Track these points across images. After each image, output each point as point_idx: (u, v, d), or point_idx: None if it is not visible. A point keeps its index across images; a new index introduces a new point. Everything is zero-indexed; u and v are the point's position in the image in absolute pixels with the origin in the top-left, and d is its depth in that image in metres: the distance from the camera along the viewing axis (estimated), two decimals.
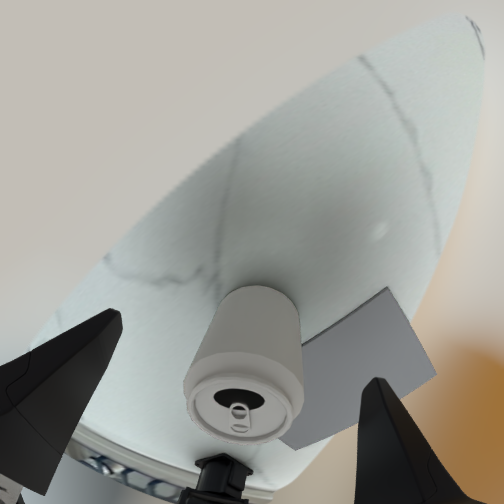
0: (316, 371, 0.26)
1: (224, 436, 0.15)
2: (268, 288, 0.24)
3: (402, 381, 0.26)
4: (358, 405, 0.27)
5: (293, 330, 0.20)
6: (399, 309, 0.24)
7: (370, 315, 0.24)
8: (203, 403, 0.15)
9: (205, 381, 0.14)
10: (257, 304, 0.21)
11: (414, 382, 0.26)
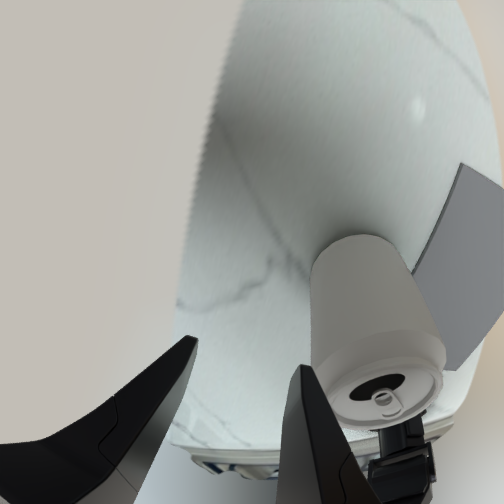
0: (439, 288, 0.21)
1: (380, 423, 0.13)
2: (347, 238, 0.19)
3: None
4: (494, 297, 0.20)
5: (397, 272, 0.15)
6: (485, 179, 0.16)
7: (462, 202, 0.17)
8: (343, 407, 0.13)
9: (332, 392, 0.11)
10: (345, 266, 0.17)
11: None
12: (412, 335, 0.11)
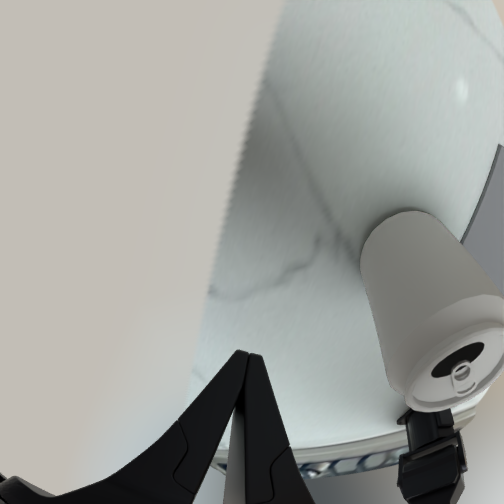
0: None
1: (449, 402, 0.11)
2: (400, 214, 0.17)
3: None
4: None
5: (458, 244, 0.13)
6: None
7: (501, 183, 0.15)
8: (421, 387, 0.11)
9: (421, 367, 0.09)
10: (408, 239, 0.15)
11: None
12: (492, 300, 0.09)
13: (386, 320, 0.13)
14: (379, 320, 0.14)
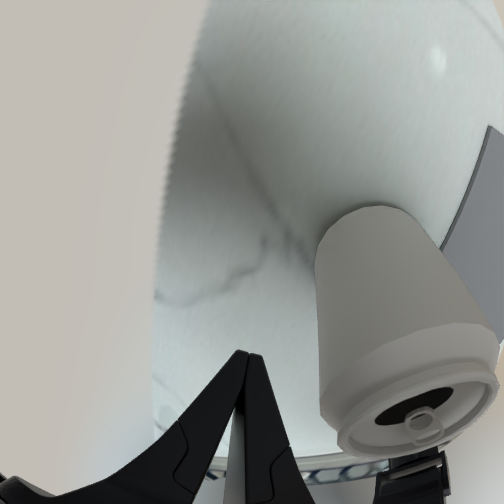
0: (466, 276, 0.16)
1: (409, 448, 0.09)
2: (361, 210, 0.15)
3: None
4: None
5: (430, 248, 0.11)
6: None
7: (492, 172, 0.13)
8: (363, 434, 0.08)
9: (353, 419, 0.07)
10: (363, 241, 0.12)
11: None
12: (468, 331, 0.06)
13: (323, 346, 0.10)
14: (319, 343, 0.11)
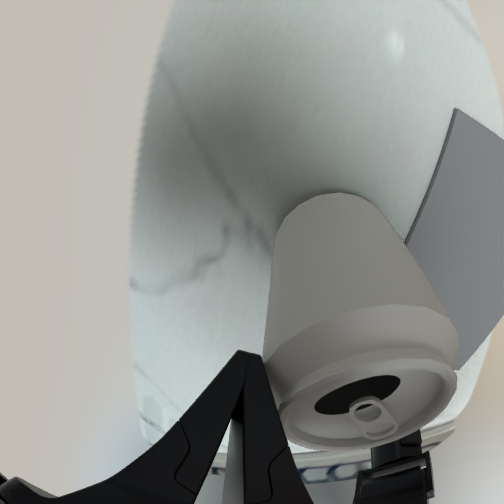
0: (439, 266, 0.17)
1: (365, 442, 0.09)
2: (317, 197, 0.15)
3: None
4: None
5: (383, 231, 0.11)
6: (486, 130, 0.12)
7: (461, 156, 0.13)
8: (308, 423, 0.09)
9: (283, 403, 0.07)
10: (311, 226, 0.13)
11: None
12: (410, 313, 0.07)
13: (266, 330, 0.11)
14: (265, 329, 0.12)
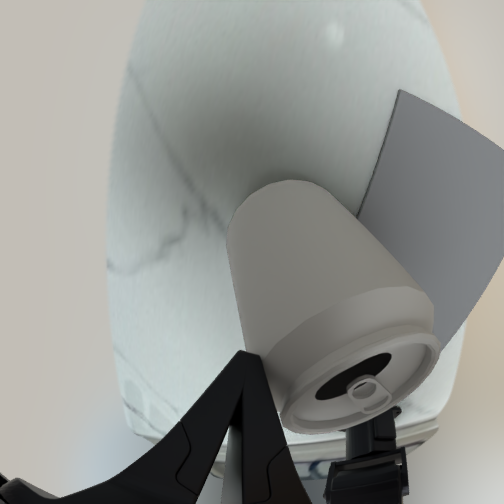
0: (393, 248, 0.18)
1: (359, 417, 0.10)
2: (268, 186, 0.15)
3: None
4: (472, 266, 0.18)
5: (344, 216, 0.12)
6: (435, 108, 0.13)
7: (407, 136, 0.15)
8: (307, 411, 0.09)
9: (291, 399, 0.08)
10: (272, 217, 0.13)
11: None
12: (395, 294, 0.08)
13: (246, 329, 0.11)
14: (242, 326, 0.12)
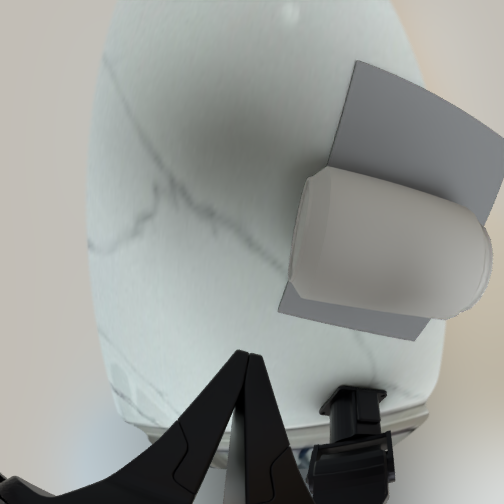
0: None
1: None
2: (336, 187, 0.13)
3: (479, 175, 0.15)
4: None
5: None
6: (395, 77, 0.14)
7: (366, 104, 0.15)
8: None
9: (488, 282, 0.12)
10: (398, 213, 0.12)
11: (494, 169, 0.15)
12: None
13: (447, 290, 0.12)
14: (431, 298, 0.13)
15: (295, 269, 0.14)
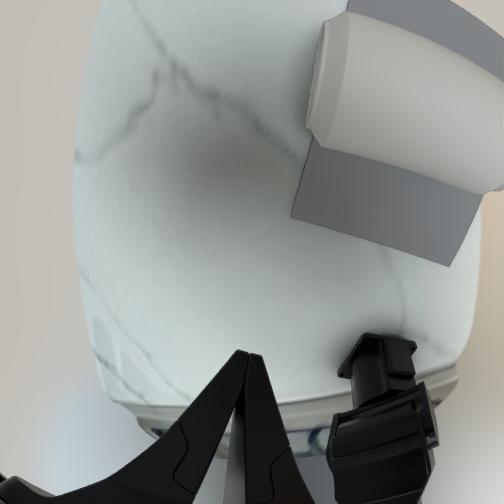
0: None
1: None
2: (353, 13, 0.09)
3: (491, 70, 0.11)
4: None
5: None
6: None
7: None
8: None
9: None
10: (421, 40, 0.08)
11: None
12: None
13: (493, 127, 0.08)
14: (479, 135, 0.09)
15: (317, 85, 0.10)
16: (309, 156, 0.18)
